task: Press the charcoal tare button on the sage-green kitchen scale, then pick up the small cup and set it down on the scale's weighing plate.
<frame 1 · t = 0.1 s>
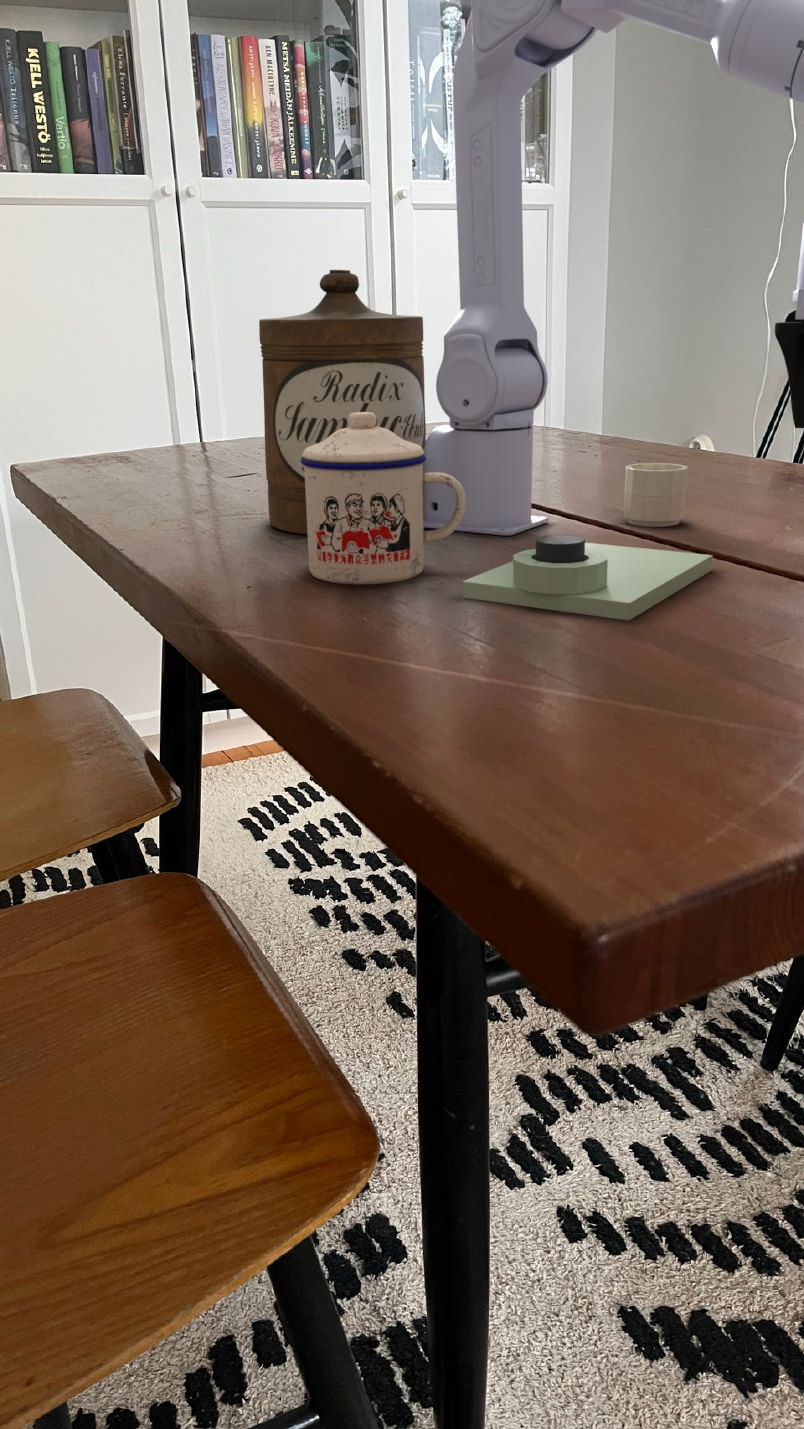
tare button: (560, 550, 70), point 3 cm above the table, slide at 0.1 cm
teacup with lid: (386, 575, 80), on the table
wooden container: (348, 523, 100), on the table
scale: (592, 584, 75), on the table
cup: (653, 522, 97), on the table
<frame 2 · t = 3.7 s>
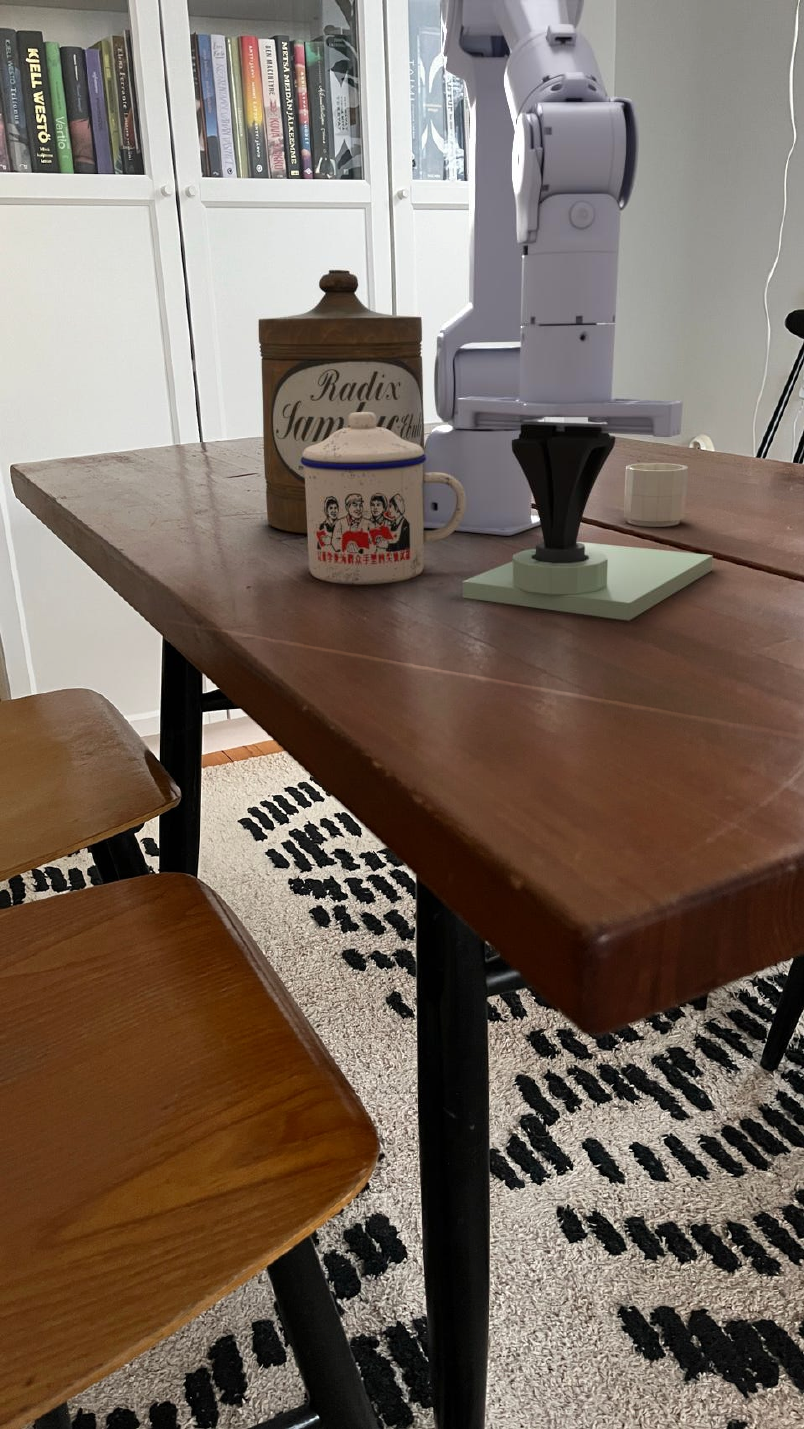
hand: (560, 545, 69), 4 cm above the table, tool pointing down, fingers closed, pressing on tare button
tare button: (559, 556, 70), point 3 cm above the table, slide at -0.3 cm, touching gripper
everything else where it was.
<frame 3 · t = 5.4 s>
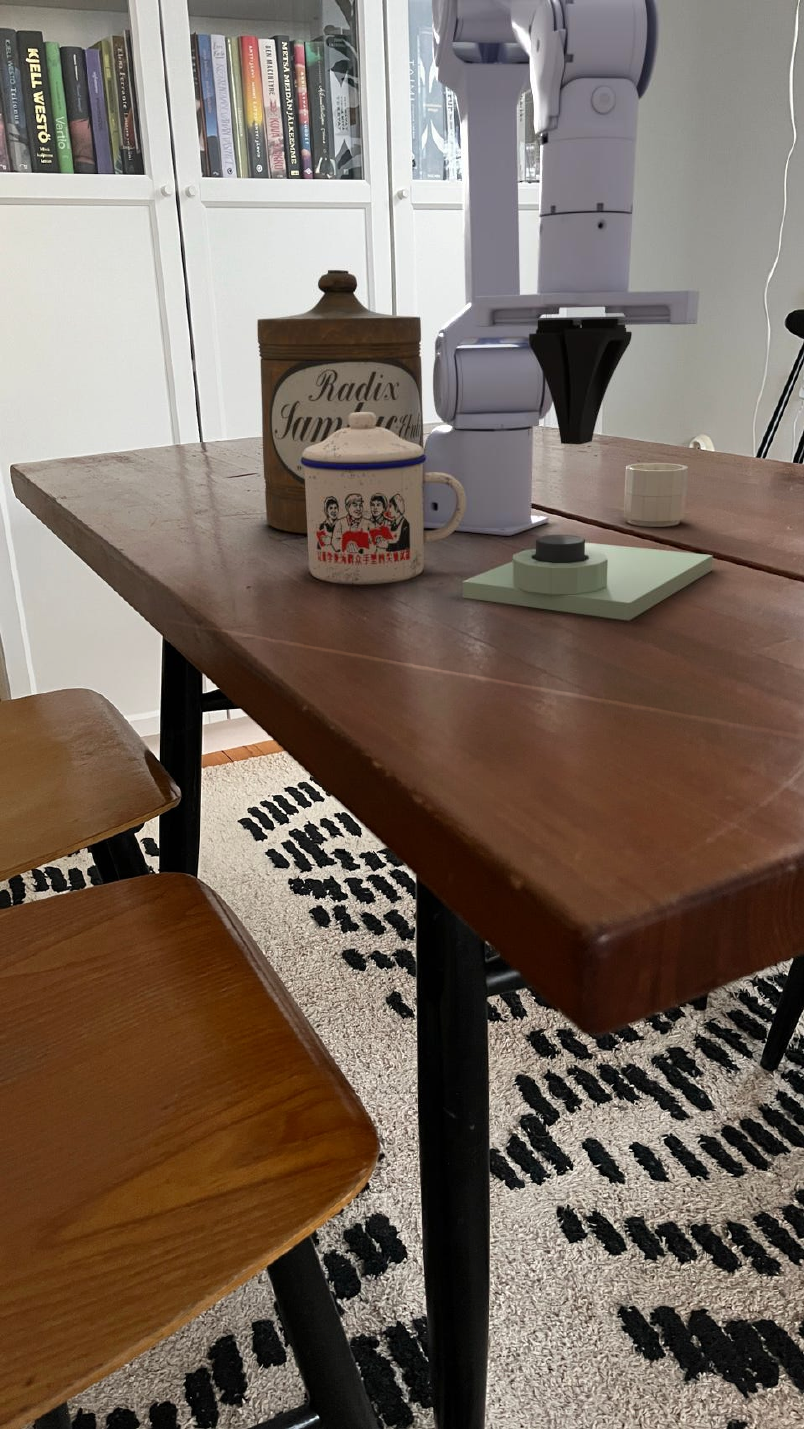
hand: (576, 442, 70), 10 cm above the table, tool pointing down, fingers closed
tare button: (560, 551, 70), point 3 cm above the table, slide at 0.1 cm
everything else where it was.
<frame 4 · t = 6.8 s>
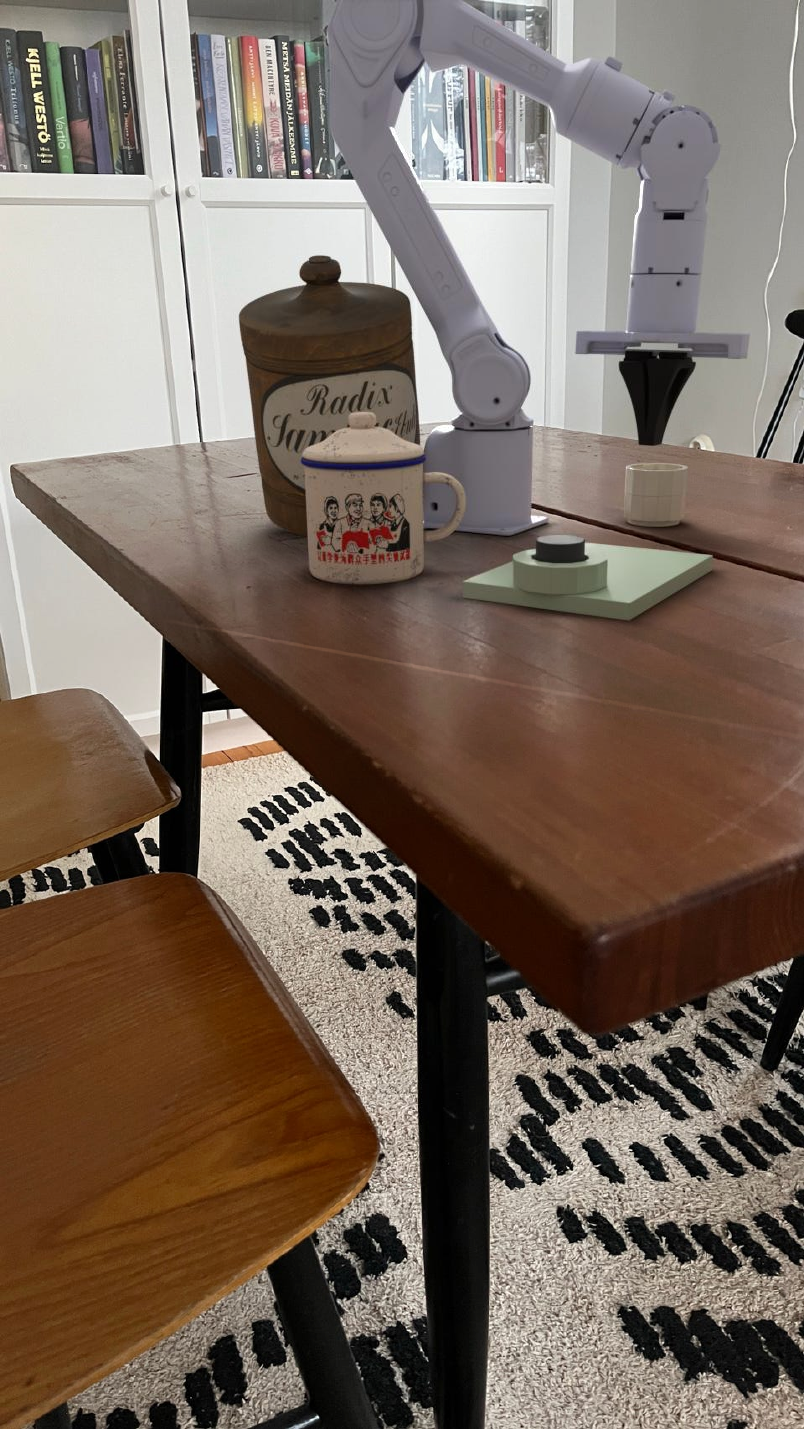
hand: (650, 444, 92), 7 cm above the table, tool pointing down, fingers closed
wooden container: (344, 505, 100), point 2 cm above the table, touching arm
everything else where it was.
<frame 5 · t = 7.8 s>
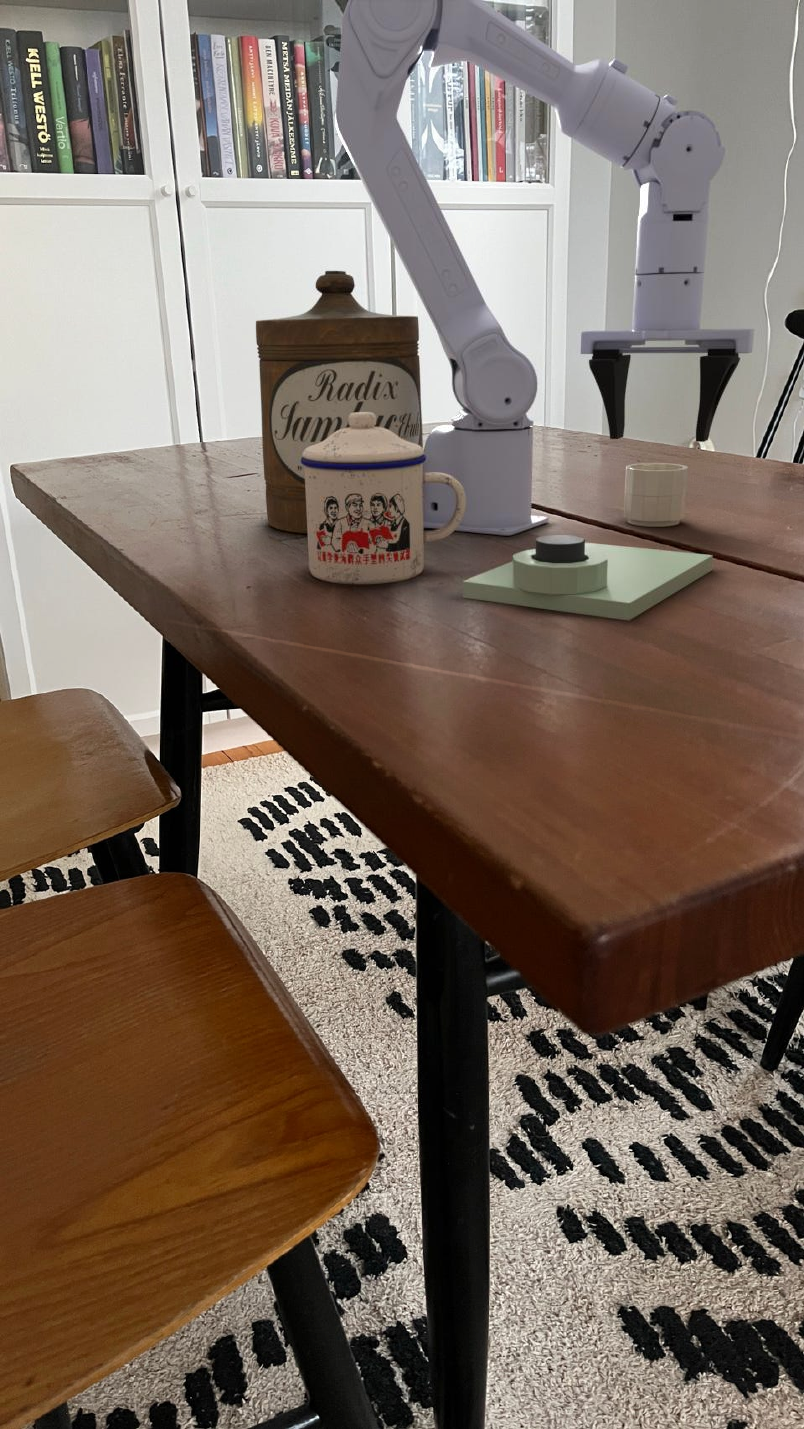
hand: (658, 439, 94), 7 cm above the table, tool pointing down, fingers open, 7 cm apart
wooden container: (345, 523, 100), on the table, touching arm
everything else where it was.
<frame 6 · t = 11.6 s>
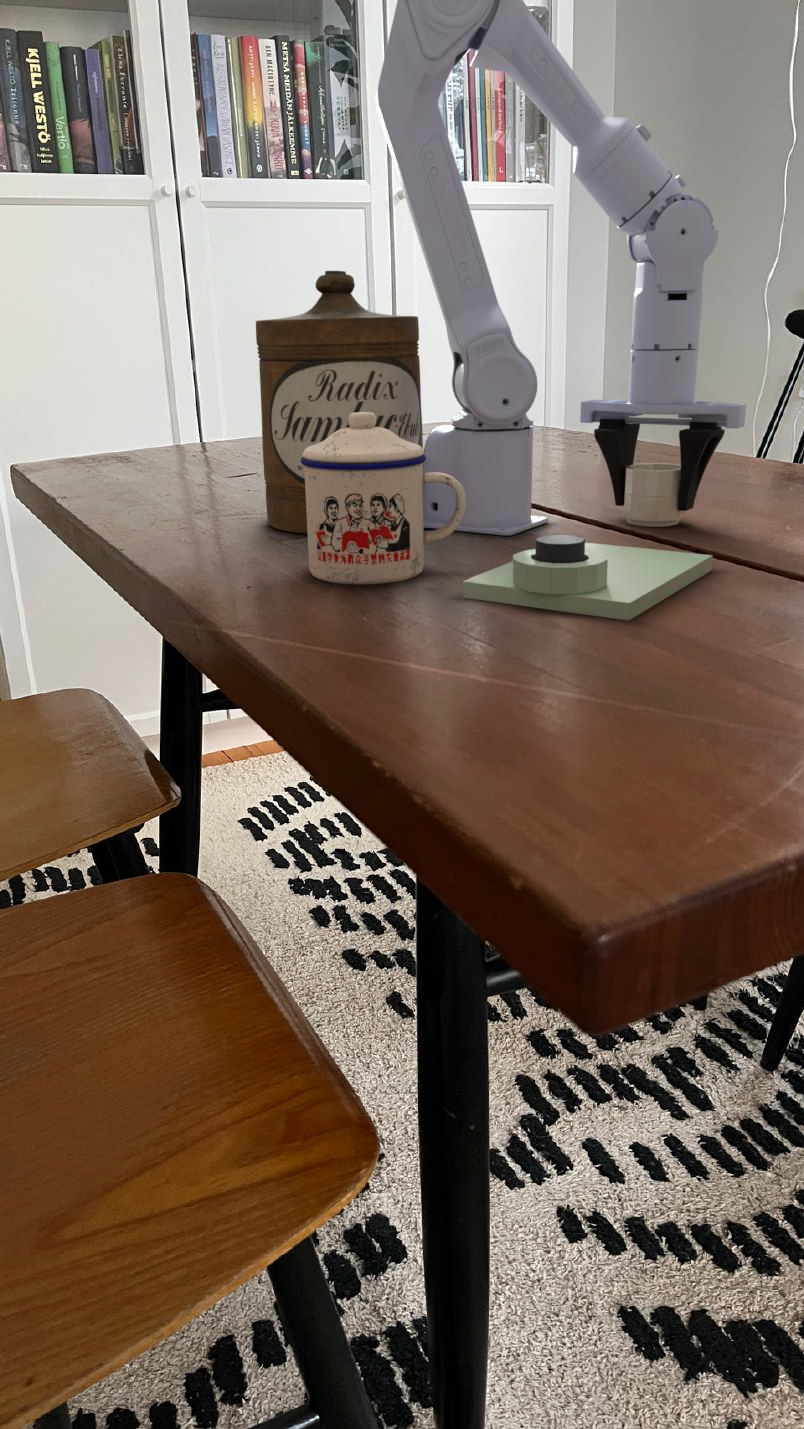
hand: (654, 506, 97), 1 cm above the table, tool pointing down, fingers closed on cup, 5 cm apart
wooden container: (345, 523, 100), on the table
cup: (652, 522, 97), on the table, touching gripper
everything else where it was.
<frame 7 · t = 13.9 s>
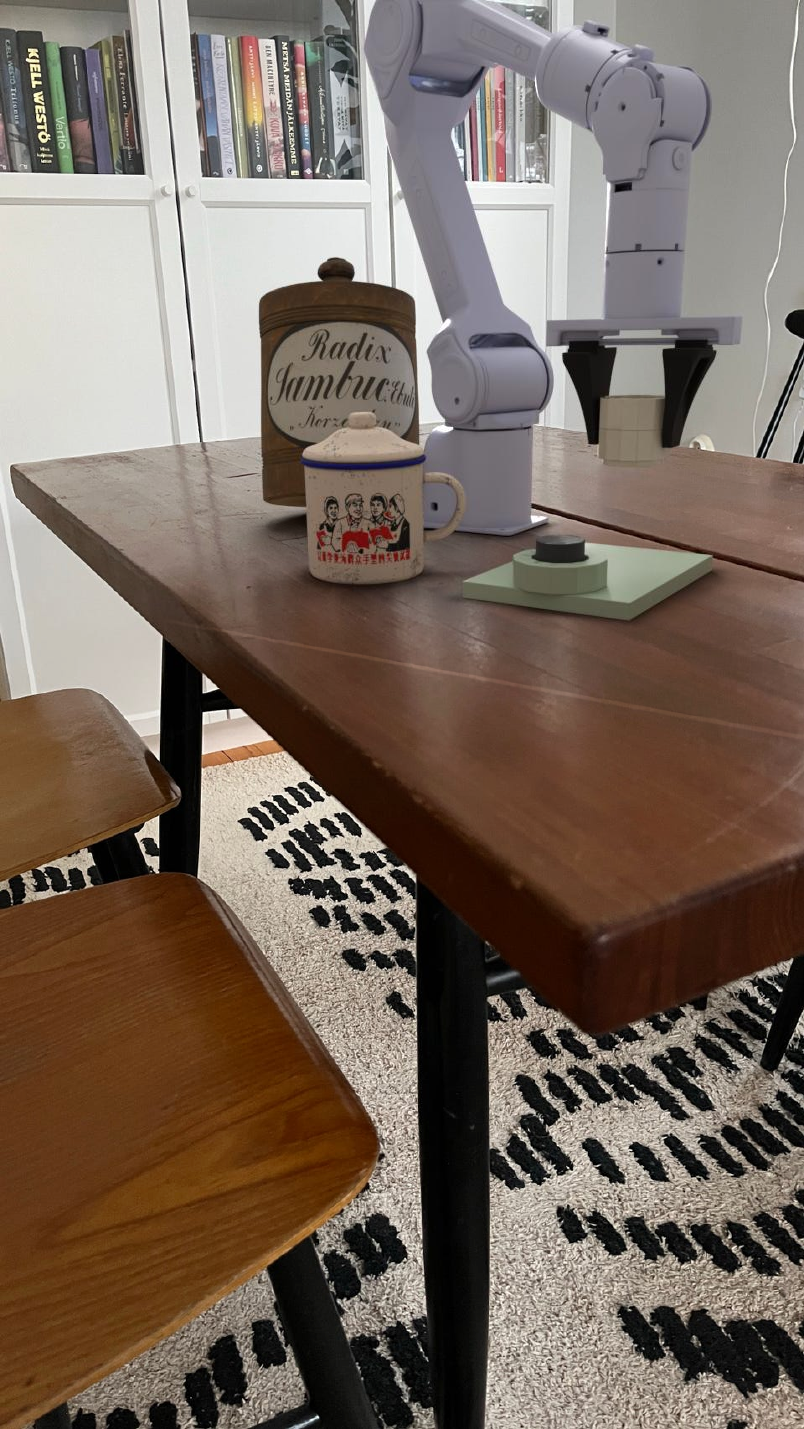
hand: (633, 445, 82), 8 cm above the table, tool pointing down, fingers closed on cup, 5 cm apart
wooden container: (341, 504, 100), point 2 cm above the table
cup: (632, 463, 82), point 7 cm above the table, touching gripper
everything else where it was.
when the fingers open (3 cm above the table, at t = 16.9 s): cup stays where it is, resting on scale.
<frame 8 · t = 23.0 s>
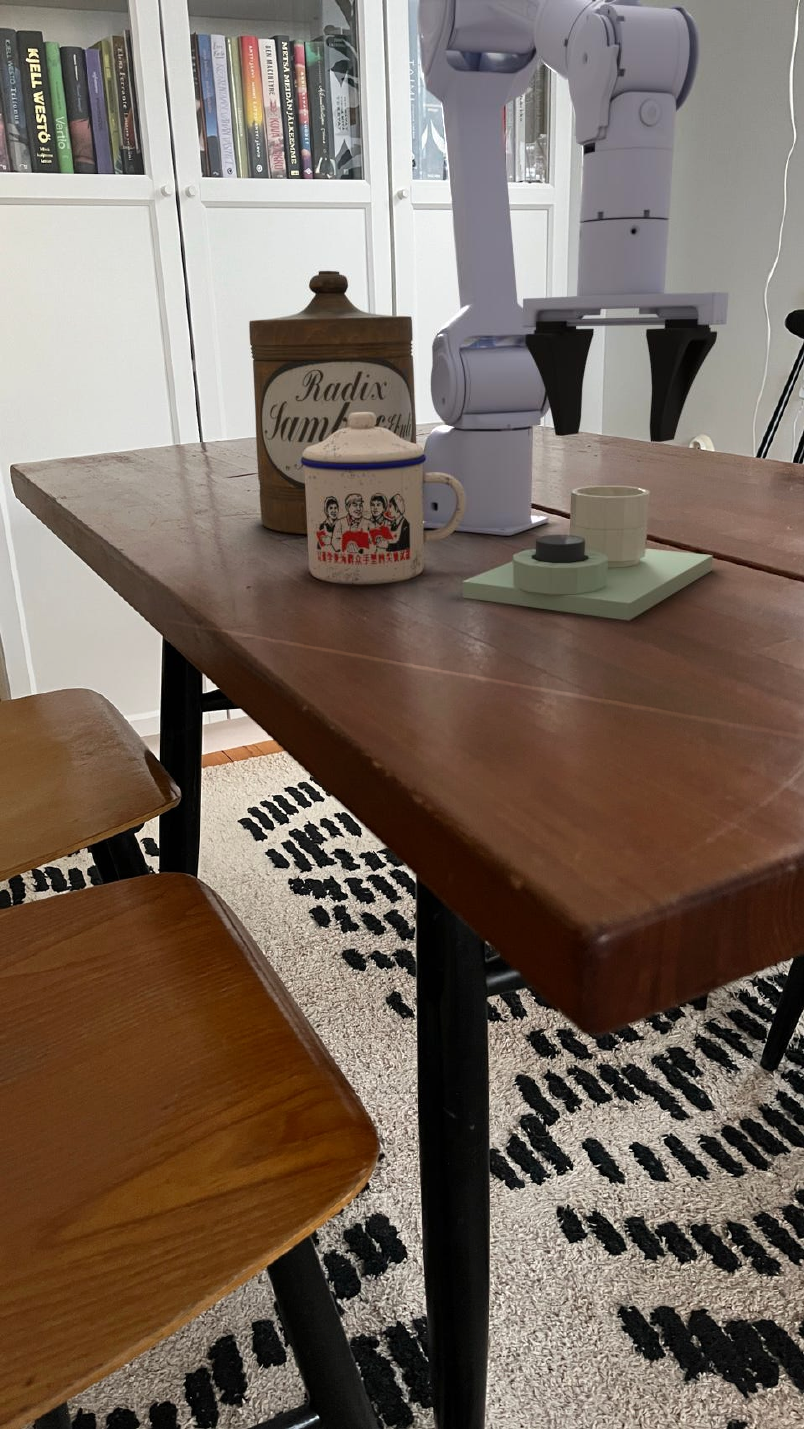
hand: (613, 437, 73), 10 cm above the table, tool pointing down, fingers open, 7 cm apart
wooden container: (340, 523, 100), on the table
cup: (606, 560, 77), point 1 cm above the table, touching scale
everything else where it was.
at the end: tare button pushed in 1.2 cm at the most during the clip, back to where it started at the end; cup inside the target area on the scale (0.5 cm from its centre), point 1.2 cm above the scale's base; cup touching scale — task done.
